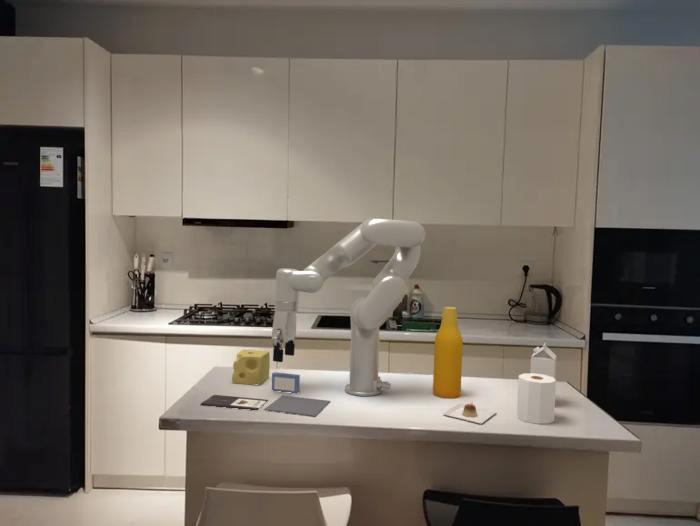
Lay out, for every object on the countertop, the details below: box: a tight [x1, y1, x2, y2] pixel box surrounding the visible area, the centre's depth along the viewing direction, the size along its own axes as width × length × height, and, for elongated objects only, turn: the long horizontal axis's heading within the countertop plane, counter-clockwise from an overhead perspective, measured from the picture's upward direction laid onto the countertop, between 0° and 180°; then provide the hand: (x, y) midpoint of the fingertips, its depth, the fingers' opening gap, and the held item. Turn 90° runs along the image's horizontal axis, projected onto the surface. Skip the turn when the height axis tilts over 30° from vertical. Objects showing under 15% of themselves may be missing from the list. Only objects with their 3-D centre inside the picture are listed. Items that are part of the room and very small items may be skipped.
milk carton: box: [529, 341, 557, 380], centre depth 171 cm, size 7×7×19 cm
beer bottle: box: [432, 306, 464, 399], centre depth 176 cm, size 9×9×29 cm
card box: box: [271, 371, 301, 394], centre depth 175 cm, size 9×2×6 cm, turn 75°
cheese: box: [231, 349, 271, 386], centre depth 187 cm, size 10×11×10 cm
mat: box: [263, 394, 331, 418], centre depth 161 cm, size 16×14×1 cm
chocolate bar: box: [199, 394, 269, 411], centre depth 163 cm, size 9×1×18 cm
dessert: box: [442, 400, 497, 425], centre depth 158 cm, size 12×12×5 cm
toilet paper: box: [516, 372, 557, 425], centre depth 156 cm, size 10×10×12 cm
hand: (283, 358), depth 175 cm, fingers open, 9 cm apart
